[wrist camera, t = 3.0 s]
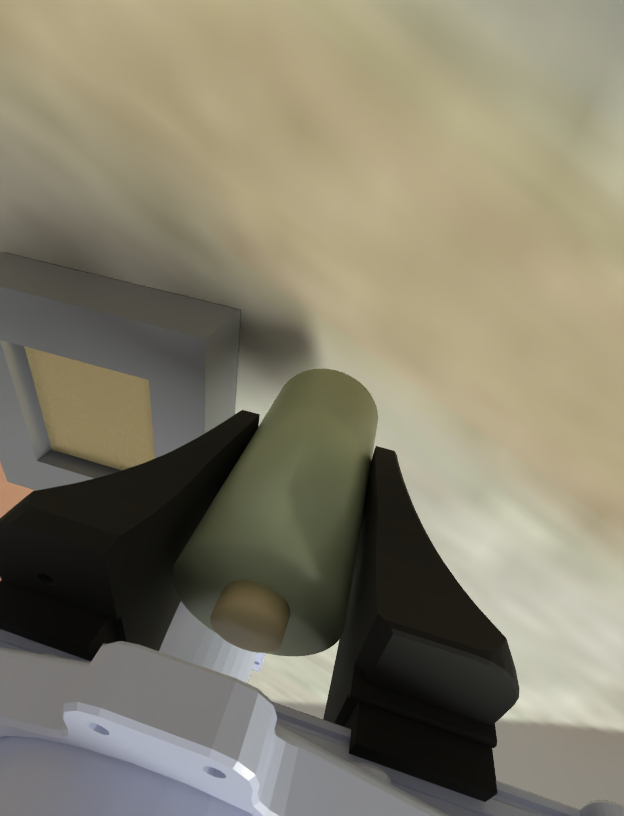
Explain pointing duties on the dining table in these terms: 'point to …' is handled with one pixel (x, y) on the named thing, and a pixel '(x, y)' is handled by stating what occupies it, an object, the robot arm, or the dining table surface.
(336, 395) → the olive cell
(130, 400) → the tan square tile
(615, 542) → the dining table surface
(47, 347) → the frame
